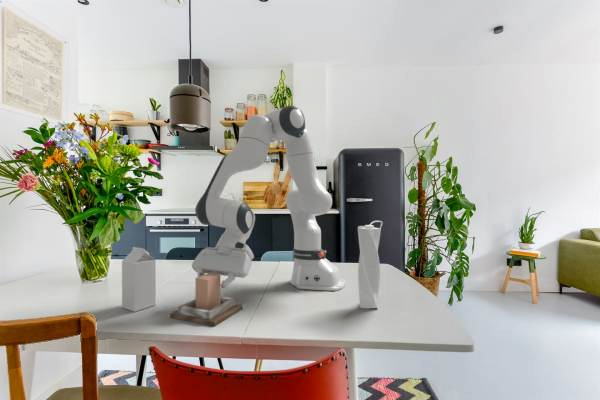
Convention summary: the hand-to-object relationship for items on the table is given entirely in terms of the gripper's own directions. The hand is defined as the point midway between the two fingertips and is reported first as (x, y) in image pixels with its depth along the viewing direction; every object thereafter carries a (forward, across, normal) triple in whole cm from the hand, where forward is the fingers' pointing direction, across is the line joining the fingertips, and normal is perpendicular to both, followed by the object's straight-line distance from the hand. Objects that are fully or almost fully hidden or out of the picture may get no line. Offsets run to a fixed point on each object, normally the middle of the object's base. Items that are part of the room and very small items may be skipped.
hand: (210, 285), depth 94 cm
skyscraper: (-11, +45, +23) cm, 52 cm away
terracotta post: (+6, 0, +4) cm, 7 cm away
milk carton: (+10, -24, +2) cm, 26 cm away
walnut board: (+7, 0, +5) cm, 8 cm away
